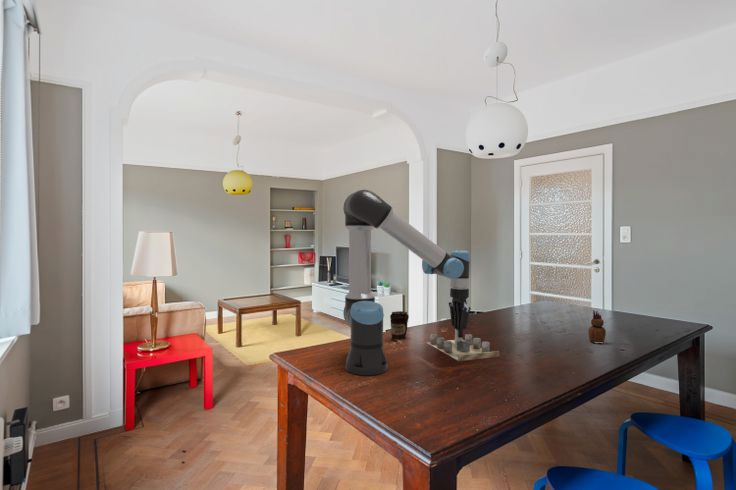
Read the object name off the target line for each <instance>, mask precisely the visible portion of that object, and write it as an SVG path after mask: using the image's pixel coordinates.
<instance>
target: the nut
mask: <svg viewBox="0 0 736 490" xmlns="http://www.w3.org/2000/svg"><path fill="white" fill-rule="evenodd" d="M457 351H461V352H469V351H470V343H469V342H466V341H457Z"/></svg>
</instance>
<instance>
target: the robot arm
mask: <svg viewBox="0 0 736 490" xmlns="http://www.w3.org/2000/svg"><path fill="white" fill-rule="evenodd" d="M342 209H343V213H344V217H345V219H344V220H345V221H344V226H345V227H344V228H346V229H347V230H348V275H349V276H348V293H346V294H345V296H344V299H345V300H344V301H345V302H344V303H345V304H344V308H343V312H342V313H343V319H344V321H345V323H346V324H347V325H348V327H349V328H350V348H349V351H348V354H347V357H346V360H345V370H346V371H347V372H349V373H350V374H353V375H359V376H375V375H381V374H383V373H385V372H386V371H387V370H388V359H387V356H386V353H385V350H384V348H383V347H384V344H383V343H384V316H385V314H384V308H383V306H382V305H381V304H380V303H379V302H376V296H375V295H374V293H373V292H372V282H371V281H372V230H373V229H374V228H375V229H380V230H382V231H384V233H386V234H387V235H389V236H390V237H392V238H393V239H395V241H397V242H398V243H400V244H401V245H402V246H404V247H405V248H406V249H408V250H409V251H410V252H411V253H413V254H414V255H416V256H417V257H419V258H420V259H421V260H422V261H421V269H422V272H423V273H424V274H425V275H439V276H441V277H445V278H447V279H450V283H449V284H450V286H449V287H450V289H449V295H450V298H452V300H451V302H448V307H449V314H450V321H451V326H452V327H453V328H454V340H455V345H457V341H462V339H463V337H464V335H463V334H464V333H463V332H464V330H467V328H468V321H469V314H470V311H471V310H472V309H471V307H470V306H468V305H467V299H468V298H469V297H470V289H469V288H470V265H471V264H470V262H471V260H470V257H471V256H470V252H469V251H468V250H452V251H451V252H450V254H449V253H448V252H446V251H445V250H444V249H443V248H441V247H440V246H439V245H438V244H436V243H434V241H432V240H431V239H429V238H428V237H427V236H426V235H425V234H423V233H422V232H420V231H419V230H418V229H417V228H415V227H414V226H412V225H411V224H410V223H409V222H407V221H406V220H404V218H402V217H401V216H399V215H398V214H397V213H396V212H394V207H392V206H391V205H390V204H389V203H387V202H386V201H385V200H384V199H383V198H381V196H379V195H378V194H376V193H375V192H373V191H372V190H369V189H359V190H357V191H355V192H353V193H351V194H349V195H348V196H347V197H346V198H345V200H344V203H343V208H342Z"/></svg>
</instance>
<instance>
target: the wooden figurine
mask: <svg viewBox="0 0 736 490" xmlns="http://www.w3.org/2000/svg"><path fill="white" fill-rule="evenodd" d="M604 323H605V322H604V320H603V319H602V315H601V314H600V313H599V312H598V311H597V310H596V311H595V309H593V312H592V319H591V321H590V327H589V328H588V329H587V330H588V333H587V334H588V338H589V341H590V342H591V341H592V342H603V343H604V342H605V340H606V336H607V335H606V334H607V330H606V329H605V327H603V326H604ZM592 342H591V343H592Z"/></svg>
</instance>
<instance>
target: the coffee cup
mask: <svg viewBox="0 0 736 490" xmlns="http://www.w3.org/2000/svg"><path fill="white" fill-rule="evenodd" d="M389 316H390V317H389V318H390V331H391V334H390V335H391V341H392V342H395V343H399V341H398V340H403V339H406V338H407V331H408V320H409V314H408V312H407V311H404V310H403V311H401V310H399V311H392V312H391V314H390V315H389Z"/></svg>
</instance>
